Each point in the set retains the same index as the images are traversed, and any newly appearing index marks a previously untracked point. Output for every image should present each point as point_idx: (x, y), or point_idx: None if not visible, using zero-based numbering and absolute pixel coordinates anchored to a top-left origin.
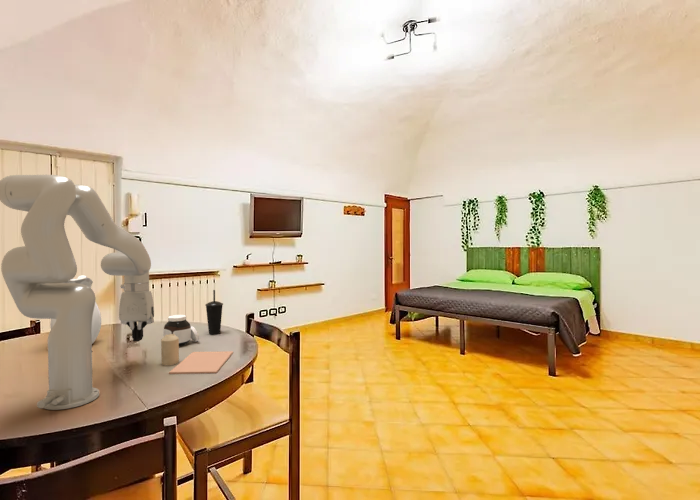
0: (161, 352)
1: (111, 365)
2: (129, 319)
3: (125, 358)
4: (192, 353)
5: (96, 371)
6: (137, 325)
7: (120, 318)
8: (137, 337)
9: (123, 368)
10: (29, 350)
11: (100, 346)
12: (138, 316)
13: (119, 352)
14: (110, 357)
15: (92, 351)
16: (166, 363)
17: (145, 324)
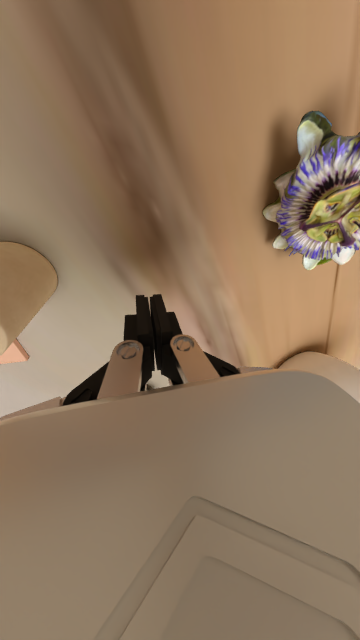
0: (21, 274)
1: (213, 257)
2: (228, 398)
3: (198, 312)
4: (12, 349)
5: (240, 195)
6: (170, 385)
7: (337, 391)
8: (137, 304)
9: (165, 221)
10: (352, 339)
11: (262, 365)
12: (68, 511)
13: (224, 344)
14: (233, 317)
15: (301, 226)
16: (2, 242)
17: (72, 390)
